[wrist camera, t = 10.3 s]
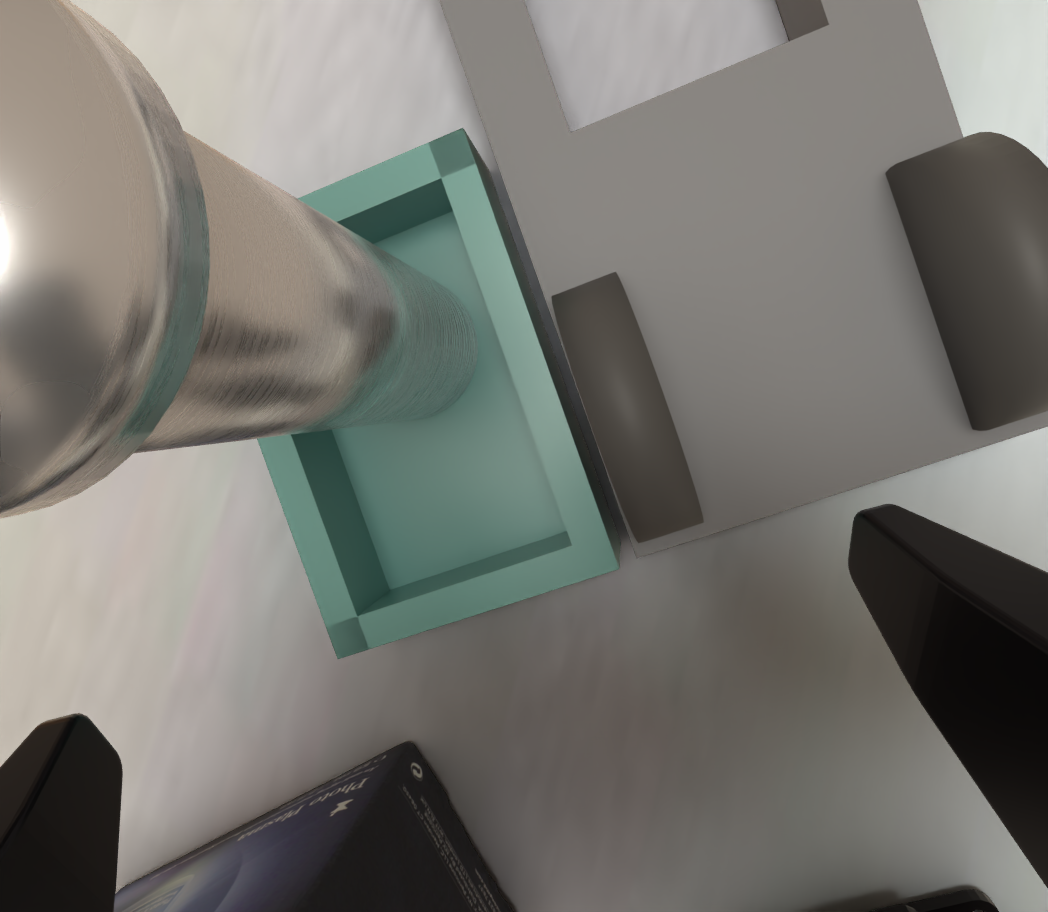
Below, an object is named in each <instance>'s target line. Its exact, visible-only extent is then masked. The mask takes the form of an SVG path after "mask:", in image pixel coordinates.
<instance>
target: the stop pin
mask: <svg viewBox="0 0 1048 912" xmlns="http://www.w3.org/2000/svg"><path fill="white" fill-rule="evenodd" d="M477 355H478V342H477V334H476V330H475V327H474V323H473V321H472V319H471V316H470V314H469V313H468V311H467V309H466V307H465V306H464V305H463V303H462V302H461V301H460V300H459V299H458V298H457V296H456V295H455V294H454V293H452V292H451V291H450V290H448V289H447V288H446V287H444V286H442V285H441V284H439V283H437V282H436V281H434V280H432V279H431V278H429V277H427V276H426V275H424V274H422V273H421V272H419V271H417V270H416V269H414V268H412V267H411V266H409V265H407V264H406V263H404V262H402V261H401V260H399V259H397V258H396V257H394V256H392V255H391V254H389V253H387V252H386V251H384V250H382V249H381V248H379V247H377V246H375V245H374V244H372V243H370V242H369V241H367V240H365V239H364V238H362V237H360V236H359V235H357V234H355V233H354V232H352V231H350V230H349V229H347V228H345V227H344V226H342V225H340V224H339V223H337V222H335V221H334V220H332V219H330V218H329V217H327V216H325V215H324V214H322V213H320V212H319V211H317V210H315V209H314V208H312V207H310V206H309V205H307V204H305V203H304V202H302V201H300V200H299V199H297V198H295V197H293V196H292V195H290V194H288V193H287V192H285V191H283V190H282V189H280V188H278V187H277V186H275V185H273V184H272V183H270V182H268V181H267V180H265V179H263V178H262V177H260V176H258V175H257V174H255V173H253V172H252V171H250V170H248V169H247V168H245V167H243V166H242V165H240V164H238V163H237V162H235V161H233V160H232V159H230V158H228V157H227V156H225V155H223V154H222V153H220V152H218V151H216V150H215V149H213V148H211V147H210V146H208V145H206V144H205V143H203V142H201V141H200V140H198V139H196V138H195V137H193V136H191V135H190V134H188V133H186V132H185V131H183V130H182V127H181V125H180V122H179V120H178V119H177V117H176V115H175V113H174V112H173V110H172V108H171V106H170V104H169V103H168V101H167V99H166V97H165V96H164V94H163V92H162V90H161V89H160V87H159V86H158V85H157V83H156V82H155V81H154V79H153V78H152V77H151V75H150V74H149V73H148V71H147V70H146V69H145V67H144V66H143V65H142V63H141V62H140V61H139V59H138V58H137V57H136V56H135V55H134V54H133V53H132V52H131V51H130V50H129V49H128V48H127V47H126V46H125V45H124V44H123V43H122V42H121V41H120V40H119V39H118V38H117V37H116V36H115V35H114V34H113V33H112V32H110V31H109V30H108V29H106V28H105V27H104V26H103V25H101V24H100V23H99V22H97V21H96V20H95V19H94V18H92V17H91V16H90V15H88V14H87V13H86V12H84V11H83V10H82V9H80V8H79V7H77V6H76V5H75V4H73V3H72V2H70V1H69V0H0V518H5V517H10V516H15V515H20V514H24V513H27V512H31V511H35V510H39V509H42V508H46V507H50V506H52V505H54V504H57V503H59V502H61V501H63V500H66V499H68V498H70V497H73V496H75V495H77V494H79V493H81V492H82V491H84V490H86V489H87V488H89V487H90V486H92V485H94V484H95V483H97V482H98V481H100V480H102V479H103V478H105V477H106V476H107V475H109V474H110V473H111V472H112V471H113V470H115V469H116V468H117V467H118V466H119V465H120V464H122V463H123V462H124V461H125V460H126V459H128V458H129V457H130V456H131V455H132V454H133V453H140V452H148V451H157V450H165V449H173V448H182V447H190V446H199V445H207V444H215V443H224V442H232V441H241V440H249V439H258V438H266V437H274V436H283V435H291V434H300V433H308V432H316V431H325V430H333V429H342V428H350V427H358V426H367V425H375V424H384V423H392V422H400V421H409V420H417V419H423V418H427V417H430V416H433V415H435V414H438V413H440V412H441V411H443V410H445V409H446V408H448V407H449V406H450V405H452V404H453V403H454V402H455V401H456V400H457V399H458V398H459V397H460V396H461V395H462V393H463V392H464V391H465V389H466V388H467V386H468V384H469V382H470V381H471V378H472V376H473V373H474V370H475V366H476V363H477Z"/></svg>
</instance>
